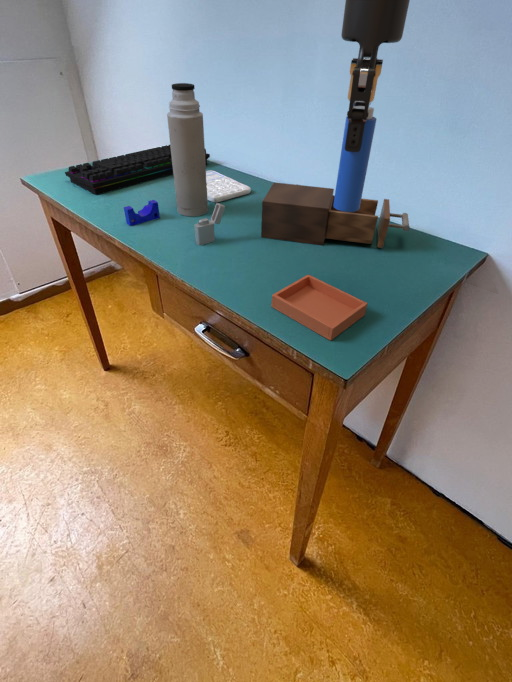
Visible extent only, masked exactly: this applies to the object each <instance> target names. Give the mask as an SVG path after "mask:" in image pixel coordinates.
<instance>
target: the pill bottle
mask: <svg viewBox="0 0 512 682" xmlns="http://www.w3.org/2000/svg"><path fill="white" fill-rule="evenodd" d="M354 108H356V109H365V106H354ZM374 111H375V108H374V107H372V106H369V108H368V113H369V114H368V120H366V123H365V126H364V132H363V138H362V144H361V149H360V151H359V152H348V151H346V150H345V143H346V136H347V129H348V123H349V121H348V118H347V116H346V117H345V123H344V129H343V135H342V136H343V137H342V144H341V150H340V157H339V163H338V170H337V177H336V185H335V189H334V196H335V197H334V204H333V207H334V208H335V209H337V210H339V211H343V212H354V211H357V210H359V208H360V203H361V198H362V197H363V192H364V188H365V183H366V176H367V171H368V166H369V161H370V155H371V151H372V147H373V146H372V145H373V140H374V135H375V129H376V124H377V117H375V116H374ZM362 199H363V198H362Z"/></svg>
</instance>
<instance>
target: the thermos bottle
mask: <svg viewBox="0 0 512 682" xmlns="http://www.w3.org/2000/svg"><path fill="white" fill-rule="evenodd" d="M171 89H172V90H171V91H172V92H171V96H172V98H171V100H170V101H169V103H168V105H169V106H168V109H169V112H167V114H166V116H167V117H166V118H167V126H168V127H167V128H168V135H169V136H168V137H169V145H170V147H171V156H172V165H173V174H172V175H173V183H174V192H175V201H176V211H177V213H178V214H179V215H181V216H183V217H200V216H204V215H205V214H207V213H208V212H209V200H208V199H207V183H206V171H207V165H206V163H205V149H206V147H205V146H206V145H205V128H204V114H203V112H201V111H200V107H201V105H200V101H198V100H197V99H196V97H195V96H196V95H195V91H194V90H195V84H193V83H186V82H179V83H178V82H177V83H172V84H171Z"/></svg>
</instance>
